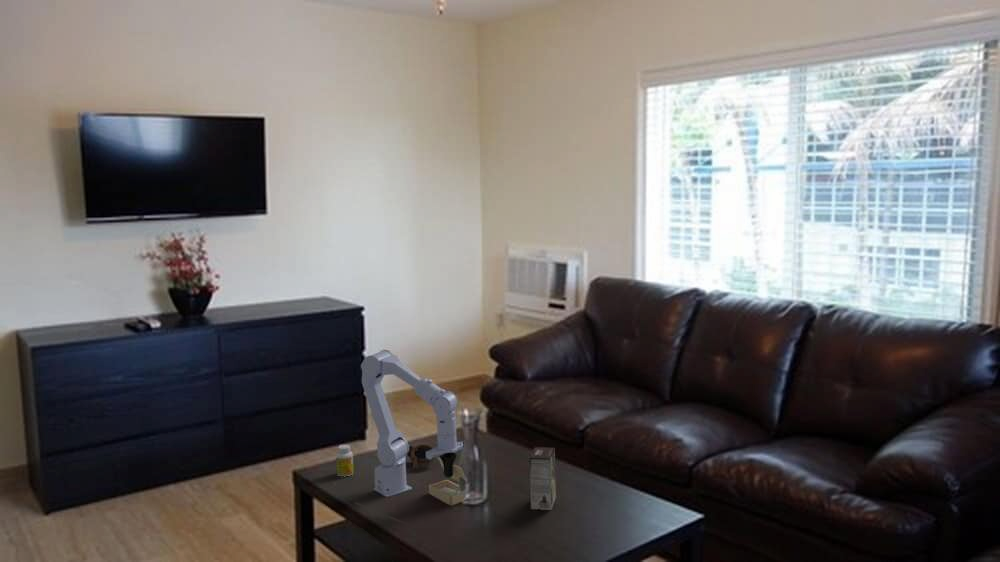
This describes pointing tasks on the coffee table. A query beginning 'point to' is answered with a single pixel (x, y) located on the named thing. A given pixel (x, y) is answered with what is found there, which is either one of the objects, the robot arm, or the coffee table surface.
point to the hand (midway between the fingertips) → (448, 476)
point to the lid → (455, 472)
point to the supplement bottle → (344, 461)
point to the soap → (448, 491)
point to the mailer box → (443, 496)
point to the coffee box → (542, 478)
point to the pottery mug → (420, 455)
